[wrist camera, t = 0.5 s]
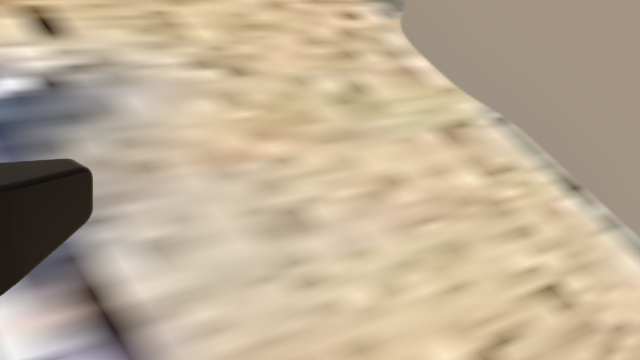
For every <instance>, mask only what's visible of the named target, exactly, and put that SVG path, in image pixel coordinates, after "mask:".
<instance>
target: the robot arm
mask: <svg viewBox="0 0 640 360" xmlns="http://www.w3.org/2000/svg"><path fill="white" fill-rule="evenodd" d="M92 211H93V176H92V173H91V171H90V170H89V169H88V168H87V167H85V166H84V165H82V164H80V163H78V162H77V161H75V160H72V159H52V160H37V161H22V162H6V163H0V296H1V295H3V294H4V293H5V292H7V291H8V290H9V289H11V288H12V287H13V286H14V285H16V284H17V283H18V282H19V281H21V280H22V279H23V278H24V277H25V276H26V275H28V274H29V273H30V272H31V271H32V270H33V269H34V268H36V267H37V266H38V265H39V264H40V263H41V262H42V261H43V260H45V259H46V258H47V257H48V256H49V255H50V254H51V253H52V252H54V251H55V250H56V249H57V248H58V247H59V246H60V245H61V244H63V243H64V242H65V241H66V240H67V239H68V238H69V237H70V236H72V235H73V234H74V233H75V232H76V231H77V230H78V229H79V228H81V227H82V226H83V225H84V224H85V223H86V222H87V221H88V219H89V218H90V216H91V214H92Z"/></svg>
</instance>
